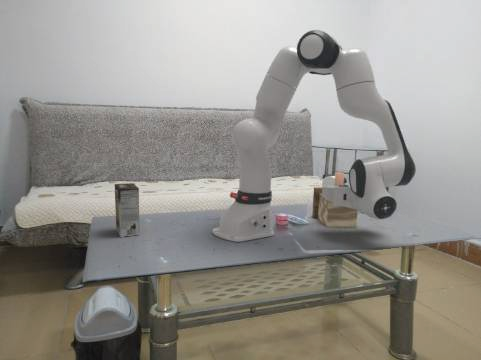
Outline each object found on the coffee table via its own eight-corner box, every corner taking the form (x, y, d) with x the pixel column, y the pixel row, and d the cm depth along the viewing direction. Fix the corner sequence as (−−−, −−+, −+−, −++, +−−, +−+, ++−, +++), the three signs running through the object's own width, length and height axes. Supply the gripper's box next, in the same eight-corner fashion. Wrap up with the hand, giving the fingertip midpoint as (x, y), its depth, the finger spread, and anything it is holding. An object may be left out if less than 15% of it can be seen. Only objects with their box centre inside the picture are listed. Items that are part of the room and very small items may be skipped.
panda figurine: (350, 210, 162) (353, 177, 159) (331, 213, 156) (333, 178, 154) (331, 204, 172) (334, 173, 170) (313, 207, 167) (315, 174, 164)
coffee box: (115, 230, 125) (114, 183, 123) (134, 227, 128) (133, 182, 126) (119, 237, 117) (118, 188, 115) (140, 235, 120) (139, 187, 118)
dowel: (338, 210, 135) (341, 173, 133) (331, 209, 138) (333, 172, 135) (343, 209, 138) (345, 172, 135) (335, 208, 140) (338, 171, 137)
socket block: (356, 226, 134) (358, 199, 132) (327, 226, 132) (329, 199, 131) (344, 218, 144) (346, 193, 143) (317, 218, 143) (319, 193, 141)
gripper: (392, 186, 119) (372, 179, 132) (331, 186, 116) (317, 179, 130) (390, 205, 120) (370, 196, 133) (330, 205, 117) (316, 196, 131)
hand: (344, 188), depth 132 cm, fingers open, 8 cm apart
